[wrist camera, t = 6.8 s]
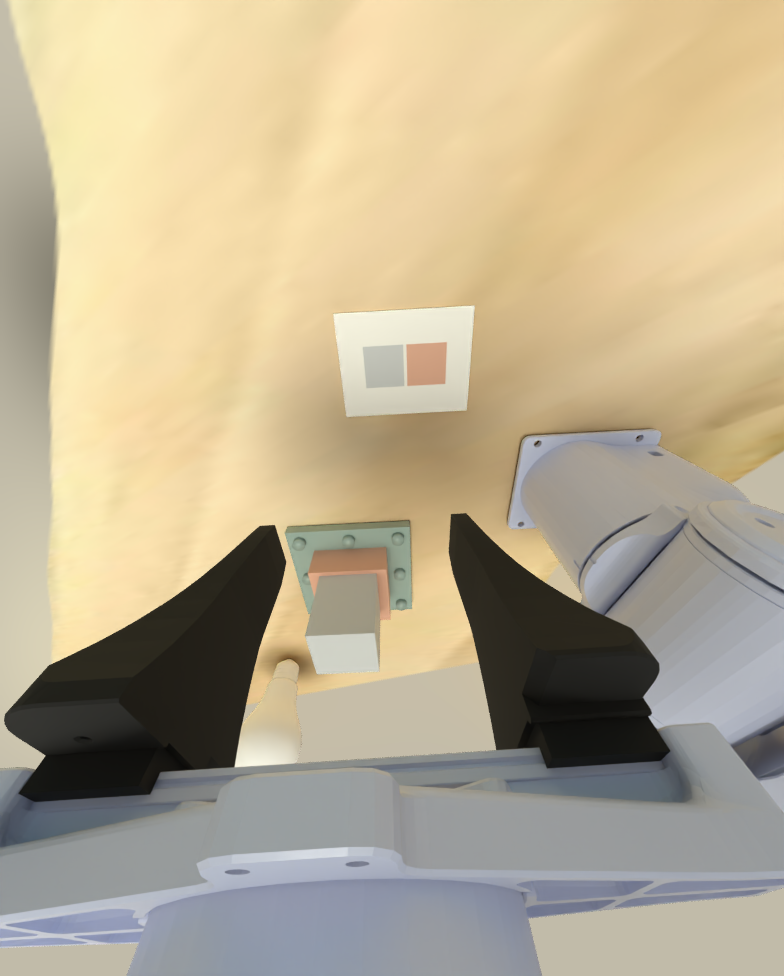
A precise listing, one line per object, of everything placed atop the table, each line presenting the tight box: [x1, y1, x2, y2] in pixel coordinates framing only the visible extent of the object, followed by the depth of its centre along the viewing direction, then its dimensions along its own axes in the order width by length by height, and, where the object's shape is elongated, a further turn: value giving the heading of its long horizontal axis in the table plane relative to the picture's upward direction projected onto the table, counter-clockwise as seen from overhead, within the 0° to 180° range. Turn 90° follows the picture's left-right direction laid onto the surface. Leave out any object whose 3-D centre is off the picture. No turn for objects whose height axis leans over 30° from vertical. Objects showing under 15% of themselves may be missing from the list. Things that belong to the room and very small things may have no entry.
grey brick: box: [305, 573, 380, 674], centre depth 23 cm, size 4×4×5 cm
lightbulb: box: [235, 659, 302, 767], centre depth 31 cm, size 6×6×11 cm
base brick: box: [308, 547, 390, 620], centre depth 26 cm, size 6×6×2 cm
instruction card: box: [333, 306, 475, 417], centre depth 19 cm, size 8×6×1 cm
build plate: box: [285, 521, 412, 614], centre depth 27 cm, size 10×10×1 cm
